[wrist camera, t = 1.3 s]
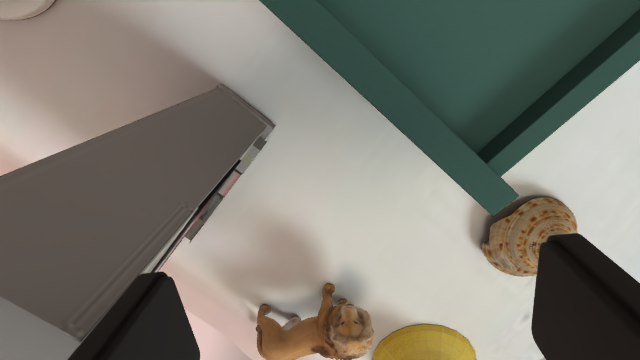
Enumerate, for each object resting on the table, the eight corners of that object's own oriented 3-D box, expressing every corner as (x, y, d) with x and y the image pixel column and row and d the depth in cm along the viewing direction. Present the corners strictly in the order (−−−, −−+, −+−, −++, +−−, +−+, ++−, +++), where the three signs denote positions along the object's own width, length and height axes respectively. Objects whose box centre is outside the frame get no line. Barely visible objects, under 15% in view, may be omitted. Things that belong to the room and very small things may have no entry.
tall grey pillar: (201, 226, 37) (-38, 547, 14) (151, 192, 36) (-205, 479, 12) (278, 126, 32) (114, 354, 9) (223, 83, 31) (-129, 218, 8)
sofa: (288, 12, 28) (257, -2, 18) (437, -188, 23) (510, -363, 13) (446, 160, 32) (493, 216, 22) (604, 16, 27) (760, 4, 17)
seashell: (471, 229, 32) (575, 217, 28) (475, 197, 37) (566, 182, 32) (495, 295, 35) (594, 294, 31) (496, 258, 39) (583, 252, 35)
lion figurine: (354, 259, 37) (357, 323, 29) (378, 294, 39) (388, 364, 30) (244, 311, 41) (219, 381, 32) (271, 341, 42) (253, 416, 34)
